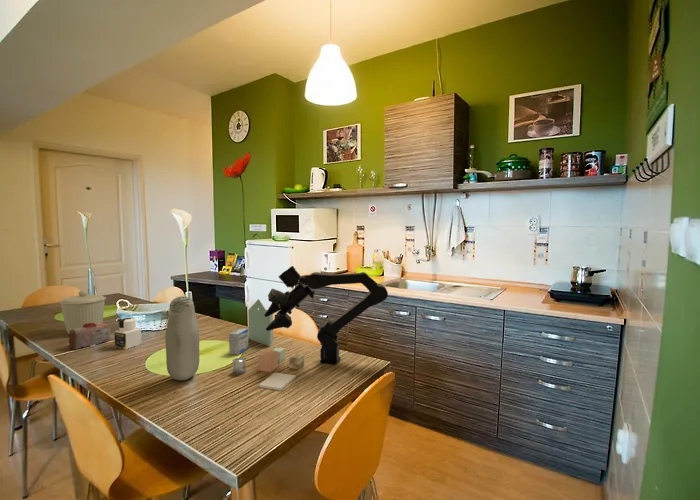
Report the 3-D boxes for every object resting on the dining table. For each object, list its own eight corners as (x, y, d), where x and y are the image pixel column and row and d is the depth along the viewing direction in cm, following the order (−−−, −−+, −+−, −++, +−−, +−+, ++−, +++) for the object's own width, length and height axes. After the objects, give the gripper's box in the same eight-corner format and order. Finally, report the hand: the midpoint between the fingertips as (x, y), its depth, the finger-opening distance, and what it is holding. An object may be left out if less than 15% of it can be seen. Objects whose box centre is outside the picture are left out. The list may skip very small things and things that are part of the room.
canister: (85, 326, 177) (83, 286, 176) (116, 328, 174) (114, 287, 173) (50, 337, 159) (48, 293, 158) (84, 339, 156) (82, 294, 155)
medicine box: (239, 355, 137) (238, 334, 136) (229, 354, 138) (228, 333, 137) (248, 348, 145) (248, 328, 144) (239, 347, 146) (238, 328, 145)
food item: (102, 339, 157) (101, 318, 156) (112, 341, 153) (111, 320, 153) (67, 348, 144) (66, 325, 144) (77, 351, 141) (76, 328, 140)
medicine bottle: (114, 347, 146) (113, 319, 145) (130, 342, 152) (129, 316, 152) (125, 349, 143) (124, 321, 142) (141, 344, 149) (140, 317, 149)
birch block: (303, 365, 127) (303, 354, 127) (299, 369, 123) (299, 358, 123) (294, 364, 128) (294, 353, 128) (289, 368, 124) (289, 357, 124)
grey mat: (295, 377, 116) (295, 375, 116) (281, 390, 106) (281, 388, 106) (274, 374, 118) (274, 372, 118) (258, 387, 109) (258, 384, 109)
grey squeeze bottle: (168, 375, 118) (166, 295, 116) (200, 370, 122) (198, 293, 120) (165, 387, 109) (162, 300, 107) (200, 381, 113) (198, 298, 111)
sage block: (285, 358, 134) (285, 348, 133) (280, 362, 130) (280, 351, 130) (276, 357, 135) (276, 347, 135) (270, 360, 131) (270, 350, 131)
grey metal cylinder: (248, 370, 122) (248, 358, 121) (240, 375, 117) (240, 363, 117) (237, 369, 123) (237, 357, 123) (230, 374, 119) (230, 361, 118)
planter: (284, 342, 153) (283, 299, 152) (269, 346, 147) (268, 301, 146) (262, 334, 164) (262, 294, 163) (248, 338, 158) (247, 296, 157)
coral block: (277, 367, 125) (277, 351, 125) (270, 372, 120) (270, 355, 120) (265, 365, 127) (265, 349, 126) (258, 370, 122) (258, 354, 122)
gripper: (279, 272, 134) (249, 298, 135) (284, 296, 118) (251, 325, 119) (297, 289, 140) (269, 314, 140) (305, 314, 123) (273, 342, 124)
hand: (265, 322), depth 131 cm, fingers open, 9 cm apart
